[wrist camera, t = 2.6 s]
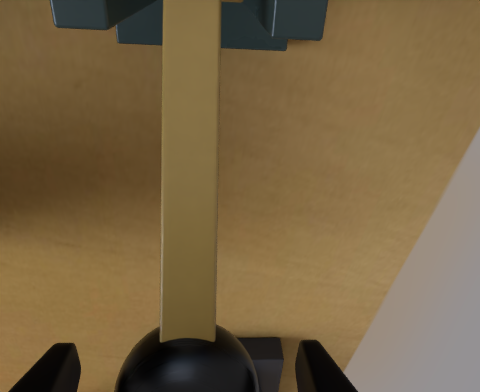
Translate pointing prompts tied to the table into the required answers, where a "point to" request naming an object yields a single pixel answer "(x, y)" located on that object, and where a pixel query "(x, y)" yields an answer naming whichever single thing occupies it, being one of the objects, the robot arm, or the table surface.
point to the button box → (265, 361)
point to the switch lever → (189, 220)
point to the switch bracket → (232, 21)
